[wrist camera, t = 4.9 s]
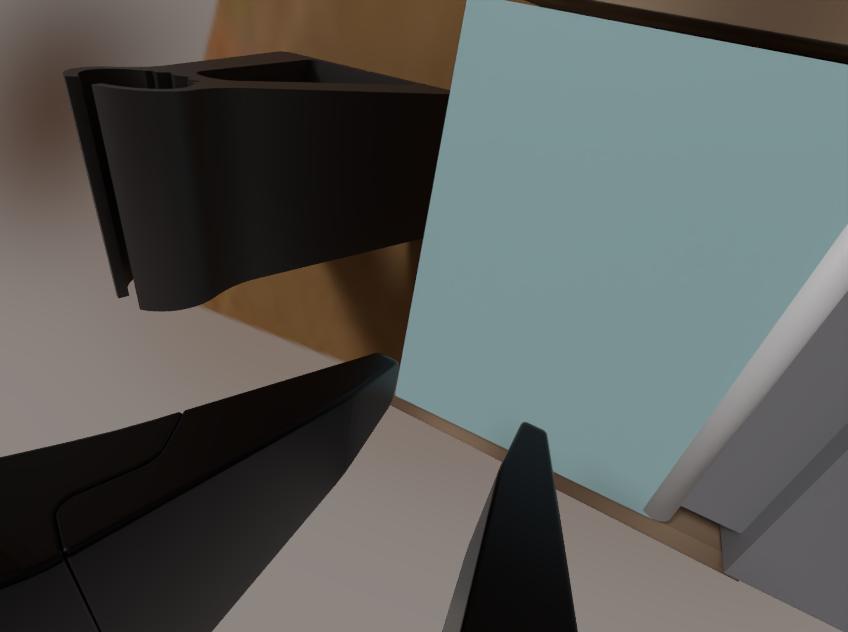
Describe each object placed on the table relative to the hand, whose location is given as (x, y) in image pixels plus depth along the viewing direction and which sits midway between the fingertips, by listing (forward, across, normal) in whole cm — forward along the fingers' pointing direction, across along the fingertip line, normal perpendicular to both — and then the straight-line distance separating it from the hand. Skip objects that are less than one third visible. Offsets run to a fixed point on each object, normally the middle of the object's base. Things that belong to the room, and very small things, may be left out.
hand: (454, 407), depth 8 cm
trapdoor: (+8, -3, 0) cm, 9 cm away
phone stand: (+13, +10, 0) cm, 17 cm away
